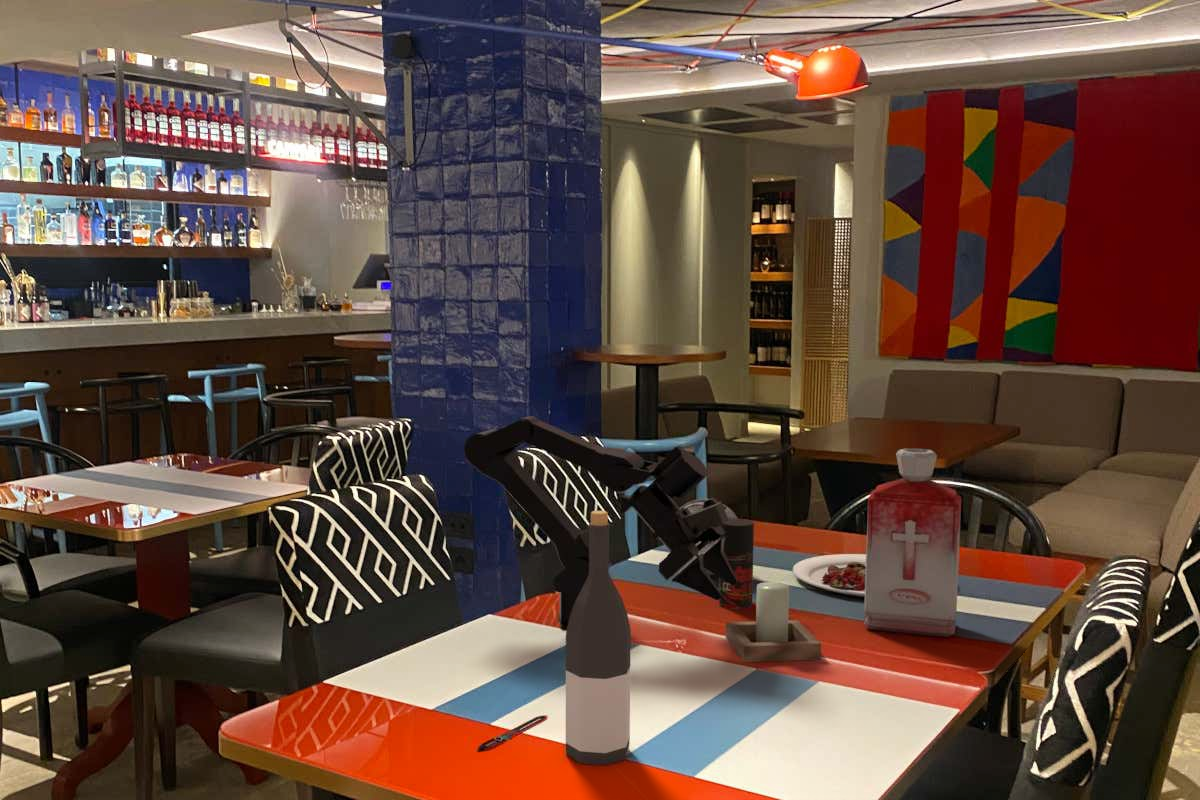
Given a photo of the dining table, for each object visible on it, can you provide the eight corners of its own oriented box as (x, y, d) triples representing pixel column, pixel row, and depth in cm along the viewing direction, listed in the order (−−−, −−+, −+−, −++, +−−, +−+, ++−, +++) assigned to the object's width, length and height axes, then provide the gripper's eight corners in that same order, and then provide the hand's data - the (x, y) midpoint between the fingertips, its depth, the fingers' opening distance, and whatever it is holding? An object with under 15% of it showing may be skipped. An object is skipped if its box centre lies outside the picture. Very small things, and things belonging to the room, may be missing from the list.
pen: (552, 719, 151) (552, 714, 151) (484, 755, 139) (484, 750, 139) (540, 716, 152) (540, 711, 152) (472, 751, 140) (471, 746, 140)
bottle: (956, 623, 193) (963, 448, 189) (954, 641, 183) (961, 457, 180) (869, 614, 197) (874, 443, 194) (862, 631, 188) (868, 452, 184)
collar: (744, 662, 172) (744, 646, 172) (725, 637, 184) (726, 622, 184) (820, 659, 174) (820, 643, 174) (797, 634, 186) (798, 620, 186)
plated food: (970, 576, 224) (971, 560, 224) (925, 614, 199) (926, 595, 198) (826, 556, 240) (826, 540, 240) (767, 588, 215) (767, 570, 214)
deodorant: (714, 607, 201) (716, 524, 200) (723, 598, 207) (725, 517, 205) (747, 611, 199) (749, 527, 197) (755, 602, 204) (757, 520, 203)
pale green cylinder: (772, 655, 176) (773, 592, 175) (748, 647, 180) (750, 585, 178) (794, 649, 179) (795, 587, 178) (770, 641, 183) (772, 580, 182)
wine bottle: (608, 771, 134) (610, 522, 131) (552, 755, 138) (552, 514, 135) (642, 747, 141) (645, 510, 138) (587, 733, 145) (589, 502, 142)
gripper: (679, 495, 172) (748, 573, 170) (714, 475, 190) (777, 546, 187) (630, 540, 176) (697, 618, 173) (668, 517, 193) (729, 587, 191)
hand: (727, 590), depth 181 cm, fingers open, 9 cm apart
